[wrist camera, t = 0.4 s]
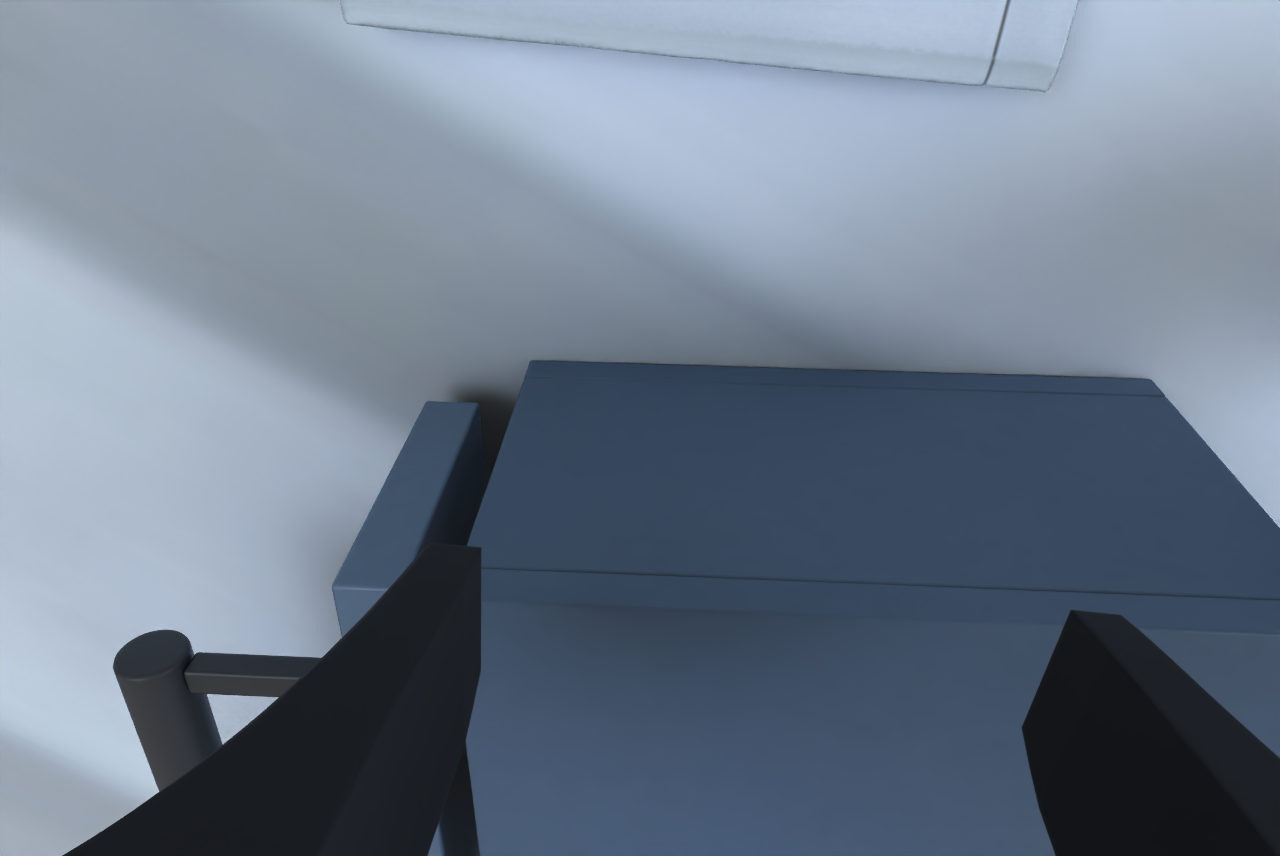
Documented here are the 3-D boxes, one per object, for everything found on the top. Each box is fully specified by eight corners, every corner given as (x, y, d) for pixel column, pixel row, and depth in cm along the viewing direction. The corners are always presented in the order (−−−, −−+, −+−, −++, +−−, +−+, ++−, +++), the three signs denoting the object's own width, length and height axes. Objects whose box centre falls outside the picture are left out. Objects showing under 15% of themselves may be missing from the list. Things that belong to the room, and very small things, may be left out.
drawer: (297, 793, 28) (200, 1014, 23) (190, 392, 21) (15, 573, 16) (909, 824, 27) (960, 1062, 22) (1003, 418, 20) (1111, 618, 15)
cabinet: (555, 793, 29) (509, 1090, 22) (529, 359, 21) (446, 600, 14) (1014, 817, 28) (1116, 1130, 21) (1151, 378, 21) (1377, 638, 14)
